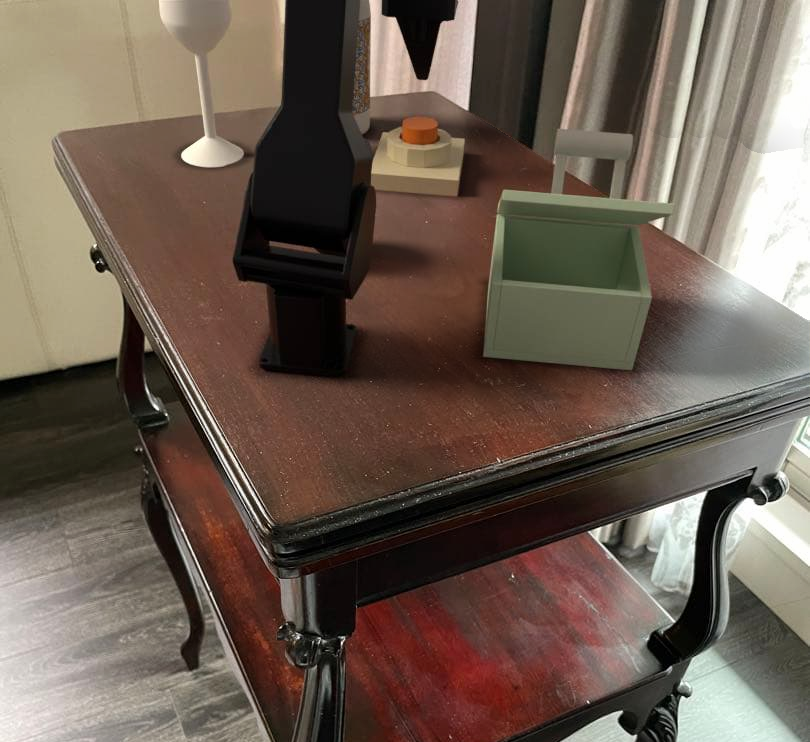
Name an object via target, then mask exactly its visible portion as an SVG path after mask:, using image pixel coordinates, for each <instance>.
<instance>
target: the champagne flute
mask: <svg viewBox="0 0 810 742" xmlns="http://www.w3.org/2000/svg"><path fill="white" fill-rule="evenodd" d="M158 7H159V17H160V19H161V22H162V23H163V25H164V28H165V29H166V30H167V31H168V32H169V33H170V35H171V36H172V38H174V39H175V40H176V41H177V42H178V43H180V44H181V46H183V47H184V48H185V50H187V51H189V52H190V53H192V54H194V60H195V67H196V68H195V69H196V74H197V83H198V90H199V99H200V106H201V115H202V122H203V130H204V136H202V137H201V138H200V139H198V140H197V141H195V142H194V143H193V144H191V145H190V146H188V147H187V148H185V149H184V150H182V152H181V155H180V157H181V159H182V160H183V162H185V163H187V164H189V165H191V166H195V167H200V168H221V167H226V166H227V165H231V164H234V163H237V162H239V161H240V160H241V159H243V157H244V155H245V152H244V150H243V149H242V148H241V147H240V146H238V145H236V144H234V143H233V142H230V141H228V140H226V139H225V138H223V137H220V136H219V135H217V128H216V119H215V111H214V102H213V94H212V86H211V77H210V69H209V61H208V59H209V58H208V54H209V53H210V52H212V51H213V50H214V49H215V48H216V47H217V45H218V44H219V42H220V41H221V40H222V39H223V37H225V35H226V33H227V31H228V29H229V28H230V27H229V26H230V24H231V21H232V15H233V14H232V8H231V3H230V0H158Z"/></svg>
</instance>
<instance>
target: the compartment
mask: <svg viewBox="0 0 810 742" xmlns="http://www.w3.org/2000/svg"><path fill="white" fill-rule="evenodd" d="M643 250H644V249H643V245H642V238H641V234H640V229H639V225H630V224H618V223H606V222H594V221H583V220H571V219H559V218H547V217H535V216H523V215H511V214H500V213H497V214H496V220H495V228H494V236H493V245H492V251H491V260H490V262H491V263H490V269H489V277H488V278H489V279H488V288H487V298H486V299H487V301H486V314H485V326H484V340H483V352H482V353H483V354H482V356H483V358H492V359H493V358H494V359H504V360H514V361H523V362H524V361H526V362H536V363H547V364H555V365H556V364H558V365H567V366H580V367H590V368H600V369H602V368H603V369H612V370H622V371H633V368H634V364H635V362H636V358H637V353H638V349H639V346H640V343H641V340H642V336H643V333H644V329H645V324H646V321H647V319H648V318H647V317H648V314H649V310H650V307H651V304H652V303H651V302H652V299H653V296H652V291H651V285H650V281H649V275H648V270H647V265H646V261H645V255H644V251H643Z"/></svg>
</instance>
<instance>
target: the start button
mask: <svg viewBox="0 0 810 742" xmlns="http://www.w3.org/2000/svg"><path fill="white" fill-rule="evenodd" d="M401 127H402V141H403V142H406V143H409V144H413V145H430V144H434V143H436V142H437V134H438V129H439V123H438V121H436V119H433V118H431V117H426V116H410V117H407V118H404V119H403V121H402V126H401Z"/></svg>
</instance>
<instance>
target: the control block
mask: <svg viewBox="0 0 810 742" xmlns="http://www.w3.org/2000/svg"><path fill="white" fill-rule="evenodd" d="M402 127H403V126H398V127H396V128H394V129H391V130H389V131H388V132H382V133H381V136H380V139H379V142H378V144H377V147H376V151H375V154H374V155H373V163H372V171H371V186H374V188H375V191H384V192H385V191H386V192H400V193H410V194H411V193H412V194H421V195H435V196H448V197H458V194H459V188H460V181H461V174H462V169H463V168H462V167H463V163H464V162H463V161H464V155H465V142H466V138H460V137H452V135H451V134H450V133H448V132H447V131H446V130H444V129H441V128H438V134H437V142H436V143H434V144H430V145H413V144H409V143H406V142H403V141H402Z"/></svg>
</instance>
